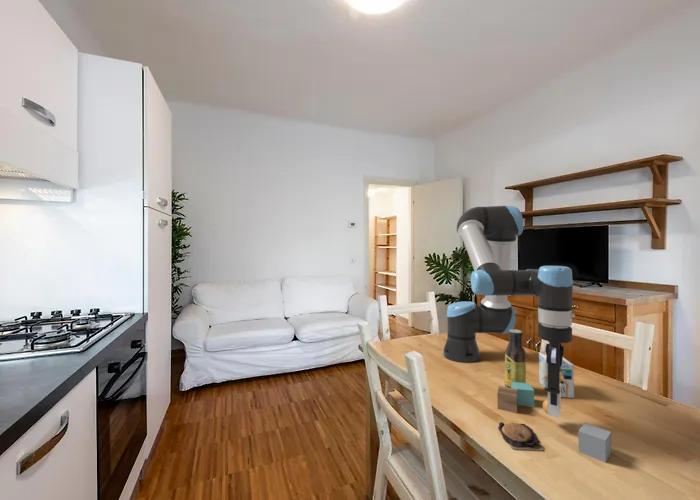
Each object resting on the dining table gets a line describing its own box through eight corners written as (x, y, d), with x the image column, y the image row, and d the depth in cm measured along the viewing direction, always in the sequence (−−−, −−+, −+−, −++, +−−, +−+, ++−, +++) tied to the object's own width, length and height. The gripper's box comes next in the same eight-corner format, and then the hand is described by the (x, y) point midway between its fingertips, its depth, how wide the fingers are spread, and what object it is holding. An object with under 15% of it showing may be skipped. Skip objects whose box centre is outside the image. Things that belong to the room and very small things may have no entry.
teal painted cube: (511, 397, 100) (511, 381, 100) (528, 399, 99) (528, 383, 99) (515, 405, 95) (515, 389, 95) (534, 407, 94) (534, 390, 94)
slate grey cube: (584, 443, 77) (584, 422, 77) (611, 453, 73) (610, 432, 73) (578, 451, 74) (578, 430, 74) (605, 463, 70) (605, 440, 70)
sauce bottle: (503, 384, 109) (503, 327, 109) (524, 386, 107) (523, 328, 107) (506, 392, 103) (505, 332, 103) (527, 395, 101) (527, 333, 101)
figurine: (533, 406, 88) (530, 367, 87) (552, 401, 89) (549, 362, 88) (557, 426, 80) (554, 382, 79) (578, 419, 81) (575, 377, 80)
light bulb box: (575, 398, 99) (574, 364, 98) (551, 397, 100) (551, 363, 100) (559, 384, 109) (559, 353, 109) (538, 382, 110) (538, 351, 110)
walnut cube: (499, 401, 97) (499, 385, 97) (517, 405, 95) (517, 389, 95) (497, 409, 93) (497, 392, 93) (516, 413, 91) (516, 396, 90)
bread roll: (547, 454, 74) (547, 438, 74) (509, 452, 74) (509, 436, 74) (526, 428, 84) (526, 414, 84) (493, 426, 85) (493, 412, 85)
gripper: (571, 335, 74) (571, 432, 75) (572, 319, 88) (571, 401, 89) (534, 330, 78) (534, 422, 79) (541, 315, 93) (540, 394, 93)
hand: (554, 411), depth 84 cm, fingers closed on figurine, 4 cm apart
